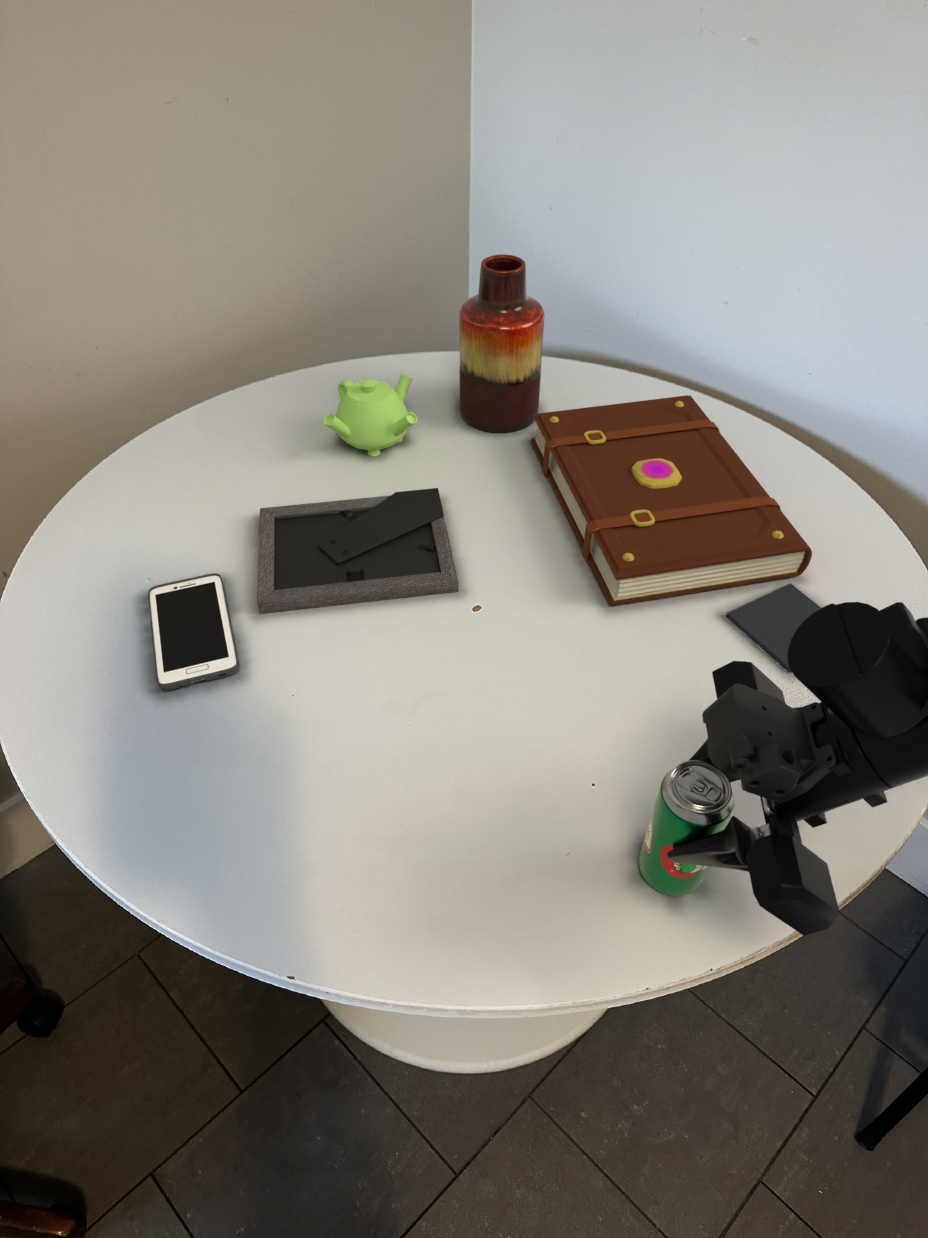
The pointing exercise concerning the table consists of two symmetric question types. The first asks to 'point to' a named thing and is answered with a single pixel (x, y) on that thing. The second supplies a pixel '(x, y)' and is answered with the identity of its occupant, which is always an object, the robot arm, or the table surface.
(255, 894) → the table surface
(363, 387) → the teapot
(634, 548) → the book
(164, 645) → the cell phone
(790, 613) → the coaster mat
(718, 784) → the soda can
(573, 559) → the table surface
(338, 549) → the picture frame
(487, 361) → the vase
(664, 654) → the table surface
